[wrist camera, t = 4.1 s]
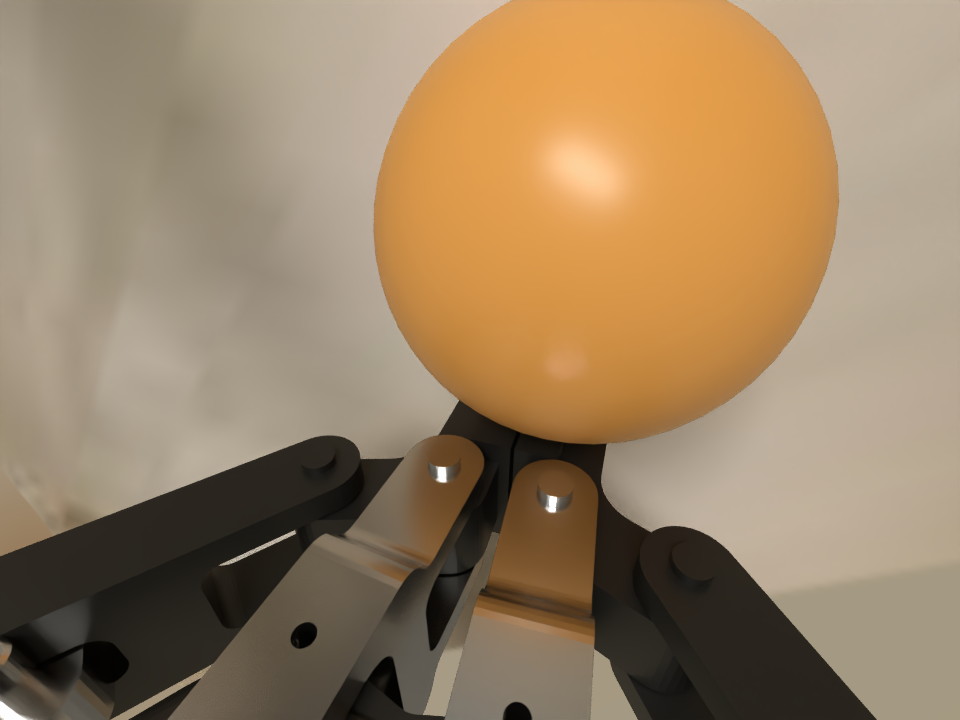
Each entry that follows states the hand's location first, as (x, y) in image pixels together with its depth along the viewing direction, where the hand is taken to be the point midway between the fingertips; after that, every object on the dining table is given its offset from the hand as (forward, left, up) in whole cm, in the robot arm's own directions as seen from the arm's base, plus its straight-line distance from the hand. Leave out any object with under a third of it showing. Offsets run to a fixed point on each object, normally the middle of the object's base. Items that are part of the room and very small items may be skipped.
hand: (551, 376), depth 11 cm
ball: (-4, +1, +2) cm, 5 cm away
